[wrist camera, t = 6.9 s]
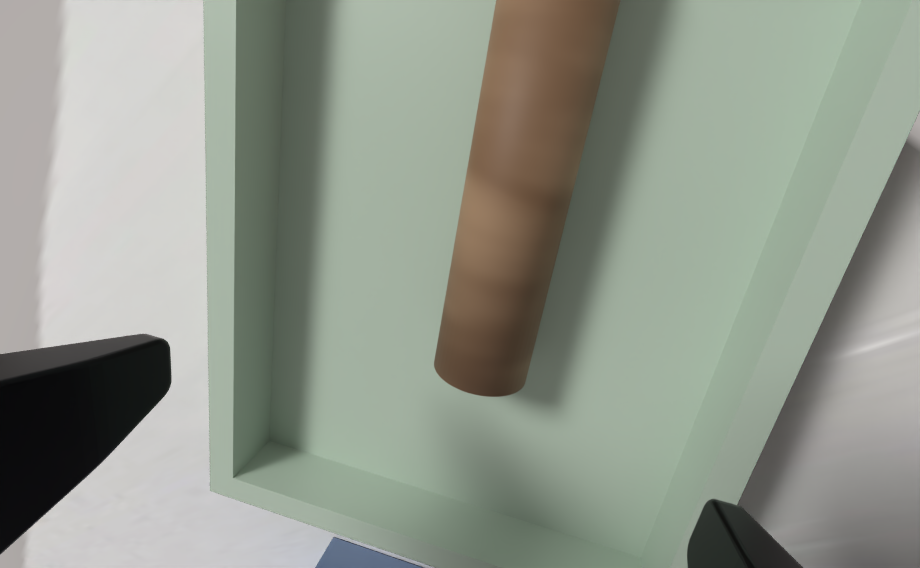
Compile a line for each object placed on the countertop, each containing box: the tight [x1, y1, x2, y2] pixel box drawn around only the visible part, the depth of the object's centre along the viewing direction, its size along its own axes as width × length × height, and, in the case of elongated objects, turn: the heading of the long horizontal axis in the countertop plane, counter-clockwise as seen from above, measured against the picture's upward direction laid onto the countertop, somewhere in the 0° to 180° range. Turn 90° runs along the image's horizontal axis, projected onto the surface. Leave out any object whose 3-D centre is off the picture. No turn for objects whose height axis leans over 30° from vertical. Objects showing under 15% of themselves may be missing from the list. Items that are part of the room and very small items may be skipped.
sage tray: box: [203, 0, 920, 568], centre depth 12 cm, size 14×22×2 cm, turn 170°
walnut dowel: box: [434, 0, 621, 397], centre depth 11 cm, size 2×6×10 cm
